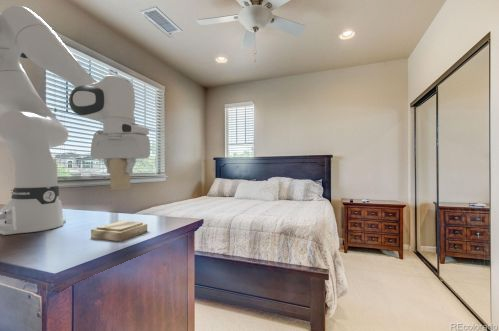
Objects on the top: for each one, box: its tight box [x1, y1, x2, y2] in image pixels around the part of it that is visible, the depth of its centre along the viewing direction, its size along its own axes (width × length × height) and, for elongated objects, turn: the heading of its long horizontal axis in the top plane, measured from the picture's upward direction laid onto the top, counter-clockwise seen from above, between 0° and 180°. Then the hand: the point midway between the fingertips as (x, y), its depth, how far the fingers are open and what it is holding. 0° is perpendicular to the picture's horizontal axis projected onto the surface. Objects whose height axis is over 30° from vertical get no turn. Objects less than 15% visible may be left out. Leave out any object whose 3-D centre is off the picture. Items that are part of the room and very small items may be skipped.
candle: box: [109, 158, 131, 191], centre depth 77 cm, size 6×6×10 cm
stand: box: [90, 220, 148, 242], centre depth 77 cm, size 11×11×3 cm
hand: (119, 173), depth 77 cm, fingers closed on candle, 5 cm apart
